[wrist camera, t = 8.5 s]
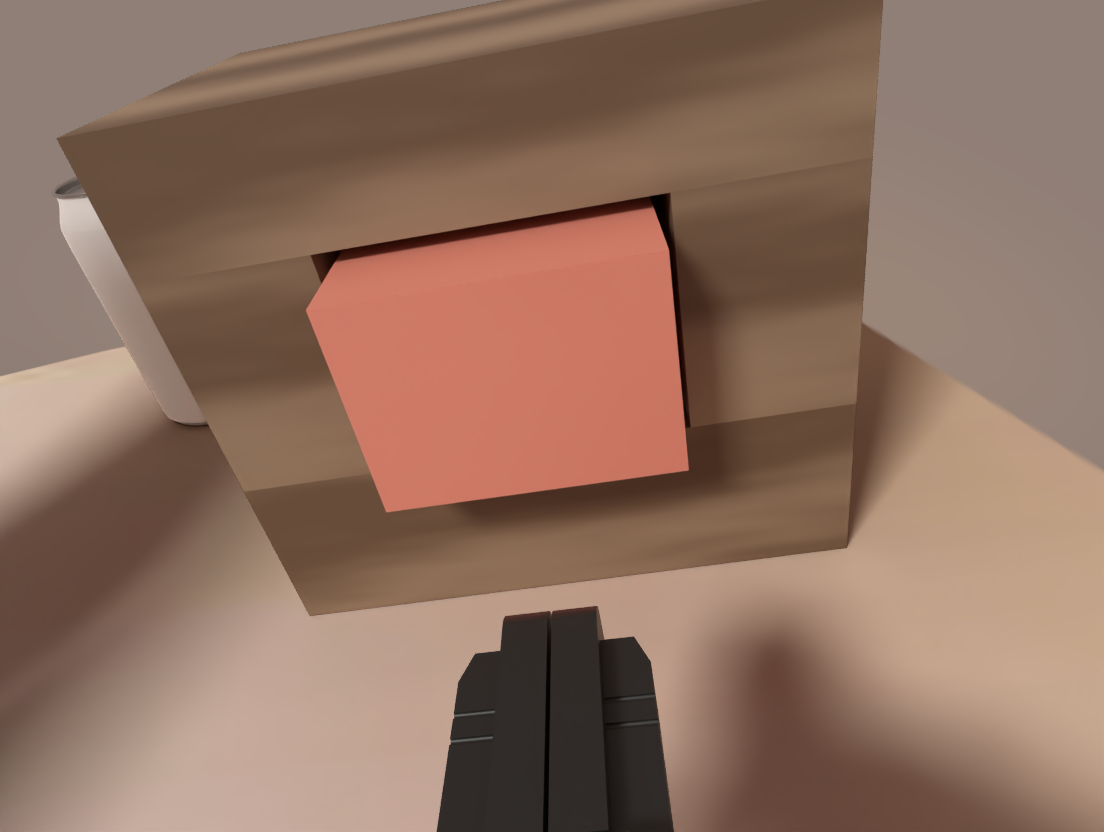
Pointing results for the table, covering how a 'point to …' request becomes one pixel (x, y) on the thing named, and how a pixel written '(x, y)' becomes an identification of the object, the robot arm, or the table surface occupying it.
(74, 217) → the can
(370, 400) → the pink rectangular block
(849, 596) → the table surface
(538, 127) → the switch box
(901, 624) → the table surface
